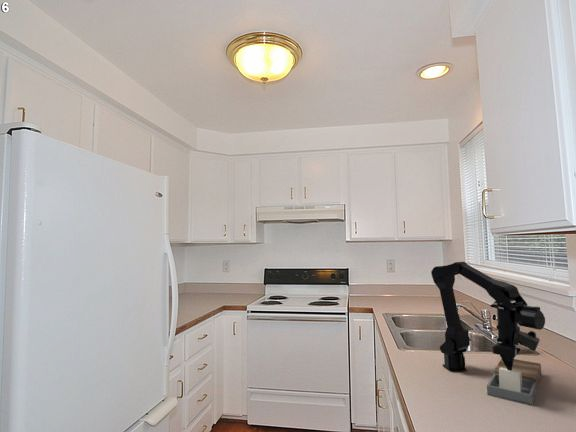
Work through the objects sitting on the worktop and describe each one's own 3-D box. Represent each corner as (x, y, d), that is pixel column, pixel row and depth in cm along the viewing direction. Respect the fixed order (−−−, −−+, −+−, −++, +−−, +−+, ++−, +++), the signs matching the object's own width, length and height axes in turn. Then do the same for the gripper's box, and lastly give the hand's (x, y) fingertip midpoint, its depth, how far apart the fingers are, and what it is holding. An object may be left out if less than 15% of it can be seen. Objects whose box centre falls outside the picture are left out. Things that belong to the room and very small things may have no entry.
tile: (522, 390, 115) (520, 393, 113) (501, 385, 119) (499, 387, 117) (521, 371, 115) (519, 373, 114) (500, 367, 120) (498, 368, 118)
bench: (536, 390, 116) (535, 378, 116) (495, 381, 123) (494, 370, 124) (541, 374, 128) (540, 363, 128) (503, 367, 136) (502, 357, 136)
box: (532, 405, 106) (531, 395, 106) (487, 394, 114) (486, 385, 114) (536, 391, 115) (535, 381, 116) (494, 382, 123) (494, 373, 123)
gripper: (533, 332, 106) (535, 386, 105) (539, 321, 120) (542, 367, 119) (491, 327, 113) (493, 377, 112) (502, 316, 127) (504, 360, 126)
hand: (509, 370), depth 117 cm, fingers closed, pressing on tile
